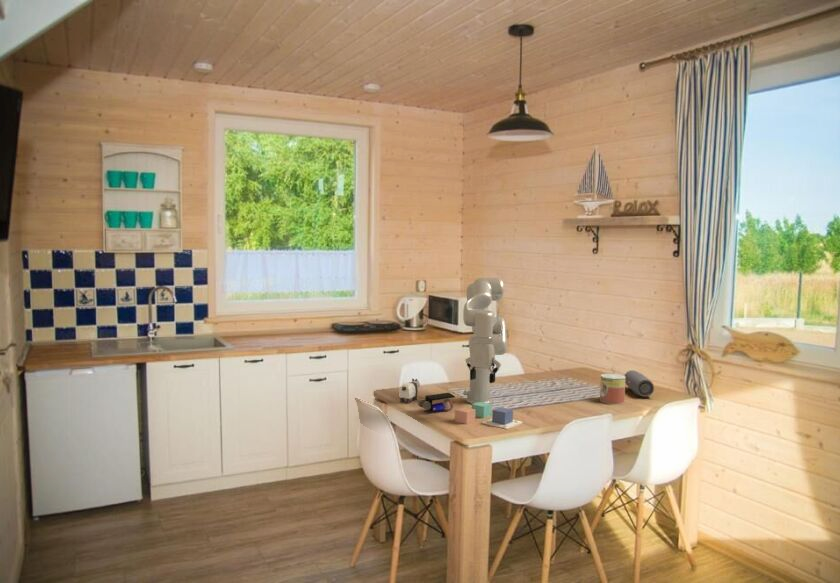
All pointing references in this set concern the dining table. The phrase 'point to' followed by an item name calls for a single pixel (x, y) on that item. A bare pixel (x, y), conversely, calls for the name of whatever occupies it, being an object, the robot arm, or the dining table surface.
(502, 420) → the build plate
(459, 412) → the coral brick
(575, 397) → the dining table surface
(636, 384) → the bluetooth speaker
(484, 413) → the teal brick
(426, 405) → the figurine character
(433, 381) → the dining table surface
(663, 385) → the dining table surface
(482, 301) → the robot arm
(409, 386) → the giant panda
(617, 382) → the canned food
